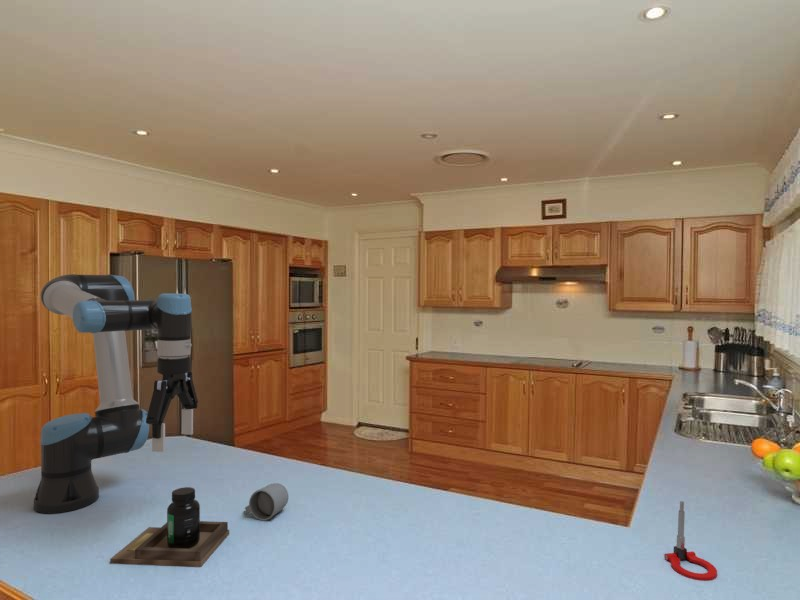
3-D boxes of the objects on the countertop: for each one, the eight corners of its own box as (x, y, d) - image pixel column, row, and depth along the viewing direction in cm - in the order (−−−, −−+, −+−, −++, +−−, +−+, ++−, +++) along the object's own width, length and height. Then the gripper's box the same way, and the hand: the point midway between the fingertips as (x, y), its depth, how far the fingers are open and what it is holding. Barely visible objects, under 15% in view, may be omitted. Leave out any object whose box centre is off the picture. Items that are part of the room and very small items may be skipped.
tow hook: (726, 581, 106) (695, 556, 115) (729, 519, 105) (697, 499, 114) (688, 584, 105) (659, 559, 114) (690, 522, 104) (661, 501, 113)
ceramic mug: (290, 509, 139) (290, 480, 139) (274, 522, 132) (274, 492, 132) (255, 505, 142) (255, 477, 142) (238, 518, 135) (237, 488, 135)
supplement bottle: (168, 553, 114) (168, 499, 114) (166, 540, 120) (166, 488, 120) (201, 546, 117) (201, 493, 117) (198, 534, 123) (197, 483, 123)
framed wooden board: (110, 563, 112) (110, 549, 112) (149, 531, 127) (148, 518, 127) (201, 566, 110) (201, 552, 110) (229, 534, 125) (229, 521, 125)
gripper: (161, 365, 115) (160, 460, 116) (211, 350, 140) (210, 428, 141) (129, 363, 116) (128, 458, 117) (184, 349, 141) (184, 427, 142)
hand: (173, 442), depth 129 cm, fingers open, 13 cm apart
